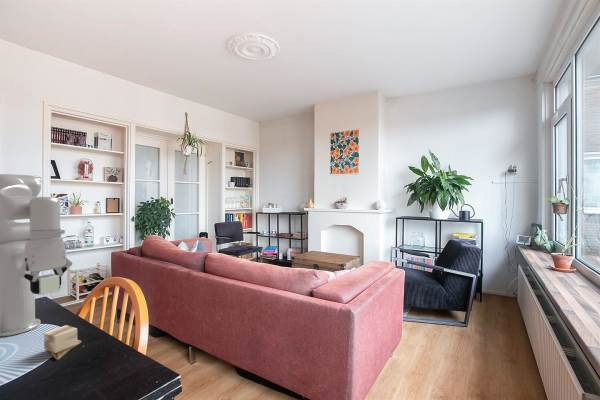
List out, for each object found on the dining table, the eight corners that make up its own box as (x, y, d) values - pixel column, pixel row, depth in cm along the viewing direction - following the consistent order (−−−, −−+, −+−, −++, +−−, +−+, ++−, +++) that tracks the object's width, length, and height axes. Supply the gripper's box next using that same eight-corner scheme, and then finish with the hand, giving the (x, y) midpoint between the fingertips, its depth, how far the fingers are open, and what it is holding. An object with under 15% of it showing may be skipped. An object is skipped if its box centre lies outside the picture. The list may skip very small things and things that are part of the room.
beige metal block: (44, 349, 91) (44, 332, 90) (66, 340, 96) (66, 325, 96) (55, 353, 88) (55, 336, 88) (77, 344, 94) (77, 328, 94)
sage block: (32, 293, 95) (32, 277, 95) (51, 288, 99) (51, 273, 99) (40, 295, 92) (40, 279, 92) (59, 290, 97) (59, 275, 97)
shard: (57, 362, 86) (57, 356, 86) (29, 363, 86) (29, 357, 86) (82, 344, 97) (82, 338, 97) (58, 344, 97) (58, 339, 97)
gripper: (69, 231, 105) (69, 282, 105) (5, 237, 90) (6, 297, 90) (81, 232, 102) (81, 285, 102) (16, 239, 86) (17, 300, 86)
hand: (46, 290), depth 96 cm, fingers closed on sage block, 4 cm apart
